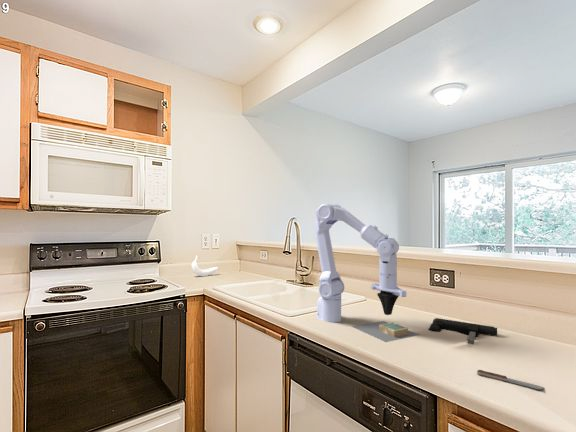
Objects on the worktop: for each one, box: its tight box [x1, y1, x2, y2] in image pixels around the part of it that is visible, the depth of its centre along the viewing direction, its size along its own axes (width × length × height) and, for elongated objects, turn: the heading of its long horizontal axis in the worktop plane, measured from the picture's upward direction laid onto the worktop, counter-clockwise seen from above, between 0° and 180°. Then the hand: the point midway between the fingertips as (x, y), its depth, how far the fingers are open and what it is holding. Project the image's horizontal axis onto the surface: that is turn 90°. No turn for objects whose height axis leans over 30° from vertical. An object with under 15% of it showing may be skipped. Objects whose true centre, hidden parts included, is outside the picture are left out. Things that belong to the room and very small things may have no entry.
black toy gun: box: [427, 317, 498, 345], centre depth 113 cm, size 3×20×16 cm
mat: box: [351, 320, 421, 343], centre depth 114 cm, size 17×15×1 cm
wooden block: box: [379, 322, 409, 337], centre depth 112 cm, size 2×6×7 cm
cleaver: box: [476, 369, 545, 390], centre depth 81 cm, size 13×2×5 cm
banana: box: [190, 255, 219, 277], centre depth 229 cm, size 5×19×15 cm, turn 134°
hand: (387, 314), depth 114 cm, fingers closed
